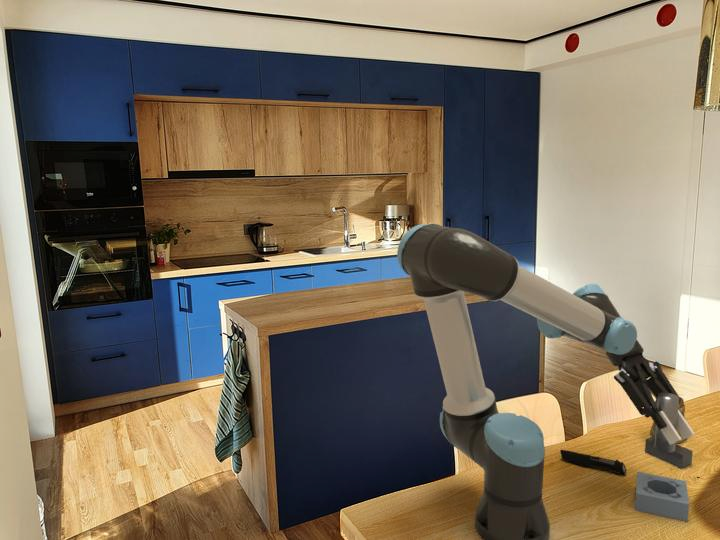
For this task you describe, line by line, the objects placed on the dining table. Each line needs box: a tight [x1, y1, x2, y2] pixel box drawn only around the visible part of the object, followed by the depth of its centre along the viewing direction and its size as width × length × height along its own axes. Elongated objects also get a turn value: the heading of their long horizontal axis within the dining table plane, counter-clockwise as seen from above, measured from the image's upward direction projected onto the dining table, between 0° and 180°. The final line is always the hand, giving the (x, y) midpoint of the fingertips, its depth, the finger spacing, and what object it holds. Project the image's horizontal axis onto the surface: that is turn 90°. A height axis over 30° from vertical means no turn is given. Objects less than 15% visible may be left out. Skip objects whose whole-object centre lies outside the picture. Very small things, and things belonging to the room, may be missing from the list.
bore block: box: [634, 471, 690, 522], centre depth 127 cm, size 10×10×4 cm
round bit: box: [654, 393, 680, 452], centre depth 124 cm, size 4×4×12 cm
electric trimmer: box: [559, 449, 627, 477], centre depth 144 cm, size 4×16×3 cm, turn 60°
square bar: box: [644, 435, 693, 470], centre depth 146 cm, size 10×4×4 cm, turn 29°
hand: (682, 439), depth 121 cm, fingers closed on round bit, 4 cm apart
